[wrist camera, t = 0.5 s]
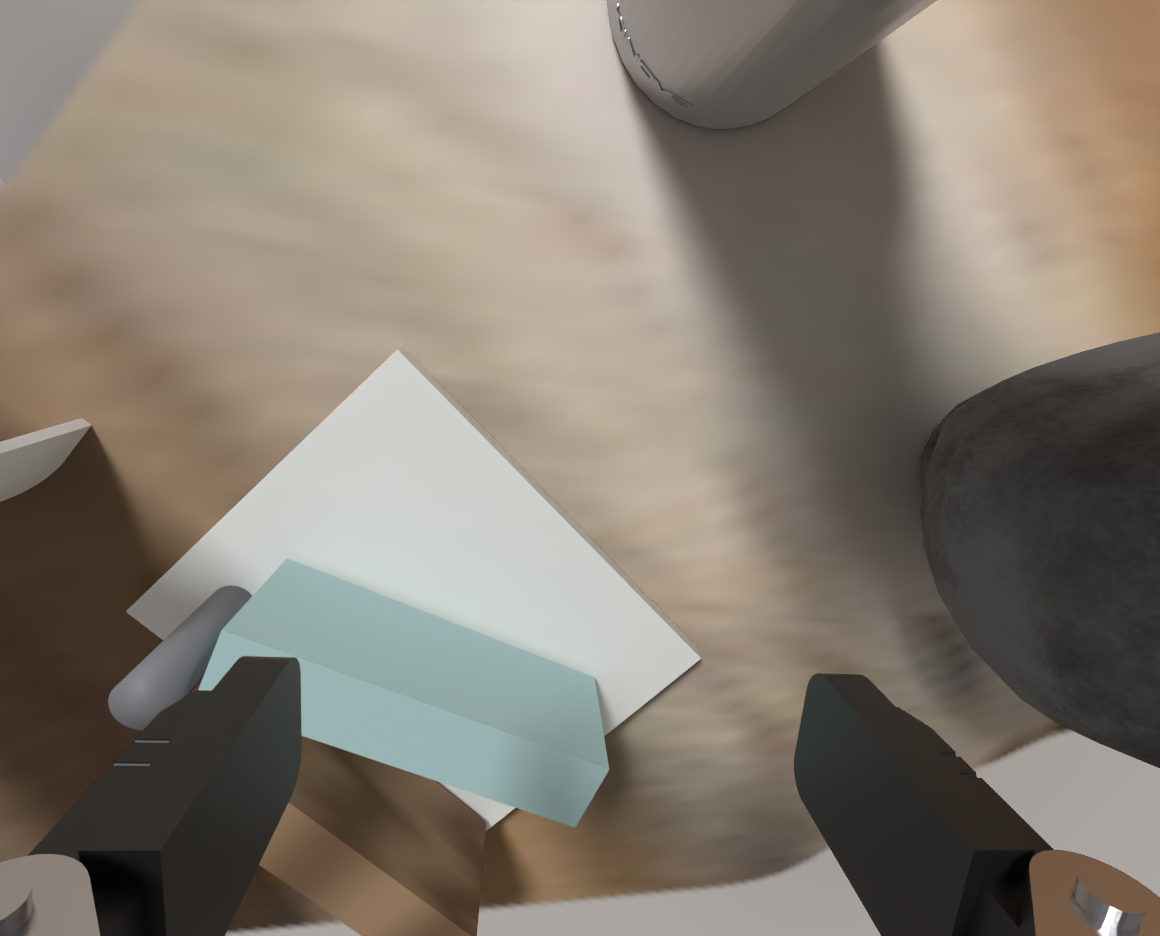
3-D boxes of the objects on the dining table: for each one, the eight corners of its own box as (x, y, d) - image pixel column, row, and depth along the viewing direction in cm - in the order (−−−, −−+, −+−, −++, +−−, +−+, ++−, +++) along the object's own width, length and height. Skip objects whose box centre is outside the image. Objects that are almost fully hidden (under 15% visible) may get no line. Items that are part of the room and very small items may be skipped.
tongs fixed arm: (206, 674, 29) (124, 772, 23) (250, 633, 28) (178, 721, 22) (444, 856, 32) (425, 979, 27) (486, 822, 32) (476, 939, 26)
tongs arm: (203, 616, 28) (100, 719, 21) (234, 534, 27) (137, 614, 20) (555, 743, 31) (561, 867, 25) (594, 674, 30) (611, 783, 24)
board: (403, 346, 27) (397, 349, 26) (694, 645, 32) (701, 658, 31) (142, 598, 29) (125, 611, 28) (453, 840, 34) (450, 860, 33)
